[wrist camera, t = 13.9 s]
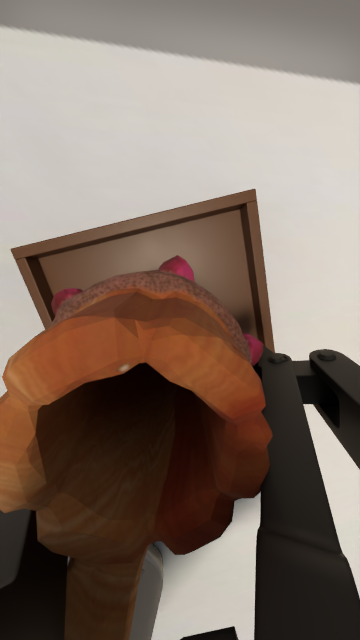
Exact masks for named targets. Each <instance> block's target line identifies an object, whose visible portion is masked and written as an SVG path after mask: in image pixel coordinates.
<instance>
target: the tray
mask: <svg viewBox="0 0 360 640" xmlns="http://www.w3.org/2000/svg"><path fill="white" fill-rule="evenodd" d="M256 200H257V198H256V190H255V189H251V190H247V191H243V192H239V193H235V194H231V195H227V196H223V197H219V198H215V199H211V200H207V201H203V202H199V203H195V204H191V205H187V206H183V207H179V208H174V209H170V210H166V211H162V212H158V213H154V214H150V215H146V216H142V217H138V218H134V219H130V220H126V221H122V222H118V223H114V224H110V225H106V226H102V227H97V228H93V229H89V230H85V231H81V232H77V233H73V234H69V235H65V236H61V237H57V238H53V239H49V240H45V241H41V242H37V243H33V244H29V245H25V246H20V247H16V248H12V249H11V252H12V254H13V256H14V259H15V260H16V263H17V265H18V268H19V270H20V272H21V274H22V277H23V279H24V281H25V284H26V286H27V288H28V291H29V293H30V295H31V297H32V300H33V302H34V304H35V307H36V309H37V311H38V314H39V316H40V318H41V320H42V323H43V325H44V327H45V330H46V329H48V328H50V326H51V324H52V322H53V320H54V319H55V317H56V316H55V314H54V312H53V310H52V305H51V303H52V300H53V298H54V295H55V294H56V293H58V292H59V291H61V290H63V289H69V288H77V289H81V290H83V291H84V290H86V289H87V288H89V287H90V286H92V285H93V284H95V283H98V282H100V281H103V280H106V279H108V278H111V277H114V276H116V275H121V274H128V273H134V272H142V271H151V270H159V267H160V266H161V265H162V263H163V262H165V261H167V260H169V259H171V258H173V257H174V256H176V255H178V256H180V257H181V258H183V259H185V260H186V261H187V263H188V264H189V265H190V267H191V268H192V270H193V273H194V280H195V283H197V284H198V285H200V286H201V287H203V288H204V289H206V290H207V291H209V292H210V293H212V294H213V295H214V296H215V297H216V298H217V299H218V300H219V301H220V302H221V303H222V304H223V305H224V306H225V307H227V309H228V310H229V311H230V313H231V314H232V315H233V317H234V318H235V319H236V321H237V322H238V324H239V326H240V328H241V330H242V333H247V334H250V335H252V336H253V337H255V338H256V339H258V340H259V341H261V342H262V343H263V345H265V346H266V347H267V348H268V349H270V350H271V351H272V352H273V353H275V350H274V342H273V333H272V325H271V316H270V308H269V300H268V291H267V283H266V274H265V266H264V257H263V249H262V240H261V232H260V223H259V215H258V206H257V201H256Z"/></svg>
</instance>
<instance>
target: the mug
mask: <svg viewBox="0 0 360 640" xmlns="http://www.w3.org/2000/svg"><path fill="white" fill-rule="evenodd" d="M51 305H52V310H53V312H54V314H55V316H56V317H55V319H54V320H53V322H52V324H51V326H50V328H48V329H46V330H44V331H43V332H41V333H40V334H38V335H37V336H35V337H34V338H33V339H32V340H30V341H29V342H28V343H27V344H26V345H25V346H23V347H22V348H21V349H20V350H19V351H17V352H16V353H15V354H14V355H13V356H12V357H10V358H9V360H8V362H7V365H6V368H5V371H4V373H3V376H2V378H3V381H4V383H5V385H6V388H7V390H8V391H7V392H6V393H5V394H4V395H3V396H2V397H1V398H0V510H1V511H2V512H3V513H7V512H11V511H16V510H20V509H29V510H34V511H36V519H37V538H38V541H39V542H40V543H41V544H43V545H44V546H45V547H46V548H48V549H49V550H50V551H51V552H53V553H57V554H61V555H65V556H68V557H70V560H69V563H68V566H67V589H66V611H65V633H64V640H129V637H130V632H131V626H132V621H133V615H134V609H135V603H136V597H137V591H138V585H139V581H140V576H141V572H142V567H143V563H144V559H145V556H146V553H147V550H148V547H149V545H150V544H152V543H154V542H156V541H162V542H163V543H164V544H165V545H166V546H167V547H168V548H169V549H170V550H171V551H172V552H173V553H174V554H175V555H185V554H187V553H190V552H192V551H195V550H197V549H199V548H200V547H202V546H204V545H206V544H208V543H210V542H212V541H214V540H216V539H217V538H219V537H221V535H222V534H223V532H224V531H225V530H226V528H227V527H228V526H229V524H230V523H231V522H232V517H233V509H234V501H235V500H238V499H240V498H254V497H255V496H256V495H257V494H258V493H259V492H260V491H261V484H262V482H263V480H264V478H265V476H266V474H267V472H268V470H269V467H270V462H269V456H268V451H267V445H268V443H269V442H270V440H271V438H272V436H273V435H272V432H271V429H270V427H269V424H268V422H267V421H266V419H265V417H264V416H263V414H262V413H261V411H262V410H263V409H264V407H265V406H266V404H265V396H264V392H263V387H262V382H261V379H260V378H259V376H258V375H257V373H256V372H255V370H254V369H253V367H252V366H253V365H255V364H256V363H257V362H258V361H259V359H260V357H261V356H262V353H263V343H262V342H261V341H259V340H258V339H256V338H255V337H253V336H252V335H250V334H247V333H242V330H241V328H240V326H239V324H238V322H237V321H236V319H235V318H234V317H233V315H232V314H231V313H230V311H229V310H228V309H227V307H225V306H224V305H223V304H222V303H221V302H220V301H219V300H218V299H217V298H216V297H215V296H214V295H213V294H212V293H210V292H209V291H207V290H206V289H204V288H203V287H201V286H200V285H198V284H197V283H195V280H194V273H193V270H192V268H191V267H190V265H189V264H188V263H187V261H186V260H185V259H183V258H181V257H180V256H178V255H176V256H174V257H173V258H171V259H169V260H167V261H165V262H163V263H162V265H161V266H160V267H159V270H151V271H142V272H134V273H128V274H121V275H116V276H114V277H111V278H108V279H106V280H103V281H100V282H98V283H95V284H93V285H92V286H90V287H89V288H87V289H86V290H84V291H83V290H81V289H77V288H69V289H63V290H61V291H59V292H58V293H56V294H55V295H54V298H53V300H52V303H51Z"/></svg>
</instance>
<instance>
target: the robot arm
mask: <svg viewBox="0 0 360 640" xmlns="http://www.w3.org/2000/svg"><path fill="white" fill-rule="evenodd" d="M252 367H253V369H254V370H255V372H256V373H257V375H258V376H259V378H260V379H261V382H262V387H263V392H264V396H265V404H266V406H265V407H264V409H263V410H262V411H261V413H262V414H263V416H264V417H265V419H266V421H267V422H268V424H269V427H270V429H271V432H272V435H273V436H272V438H271V440H270V442H269V443H268V445H267V451H268V456H269V462H270V467H269V470H268V472H267V474H266V476H265V478H264V480H263V482H262V484H261V518H260V527H259V528H258V532H257V544H256V582H255V630H254V640H360V598H359V595H358V591H357V588H356V584H355V581H354V578H353V574H352V571H351V568H350V566H349V563H348V560H347V558H346V557H345V556H344V554H343V553H342V550H341V547H340V544H339V540H338V537H337V533H336V529H335V525H334V521H333V517H332V514H331V510H330V506H329V502H328V498H327V494H326V490H325V487H324V483H323V479H322V475H321V471H320V467H319V464H318V460H317V456H316V452H315V448H314V444H313V440H312V437H311V433H310V429H309V425H308V421H307V417H306V414H305V410H304V406H303V404H313V405H314V406H315V408H316V409H317V411H318V412H319V413H320V415H321V416H322V418H323V419H324V420H325V422H326V423H327V425H328V426H329V427H330V429H331V430H332V432H333V433H334V434H335V436H336V437H337V439H338V440H339V441H340V443H341V444H342V445H343V447H344V448H345V450H346V451H347V452H348V454H349V455H350V457H351V458H352V459H353V461H354V462H355V464H356V465H357V466H358V468H359V469H360V366H359V365H358V364H356V363H355V362H353V361H352V360H351V359H349V358H348V357H346V356H345V355H343V354H342V353H340V352H337V351H333V350H329V349H328V350H327V349H323V350H316V351H313V352H311V353H310V355H309V360H306V361H292V360H291V358H290V357H289V356H287V355H285V354H281V353H273V352H272V351H271V350H270V349H268V348H267V347H266V346H265V345H263V353H262V356H261V357H260V359H259V361H258V362H257V363H256V364H255V365H253V366H252ZM69 560H70V557H68V556H65V555H61V554H57V553H53V552H51V551H50V550H49V549H48V548H46V547H45V546H44V545H43V544H41V543H40V542H39V541H38V538H37V519H36V511H34V510H29V509H20V510H16V511H11V512H7V513H3V512H2V511H1V510H0V640H64V633H65V611H66V589H67V566H68V563H69ZM162 585H163V561H162V557H161V555H160V553H159V551H158V550H157V548H156V547H155V546H154V545H153V544H150V545H149V547H148V550H147V553H146V556H145V559H144V563H143V567H142V572H141V576H140V581H139V585H138V591H137V597H136V603H135V609H134V615H133V621H132V626H131V632H130V637H129V640H151V637H152V632H153V628H154V623H155V619H156V614H157V610H158V605H159V601H160V597H161V591H162ZM181 640H238V637H237V634H236V631H235V627H234V626H233V627H229V628H224V629H219V630H215V631H210V632H206V633H201V634H197V635H192V636H187V637H183V638H182V639H181Z"/></svg>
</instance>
